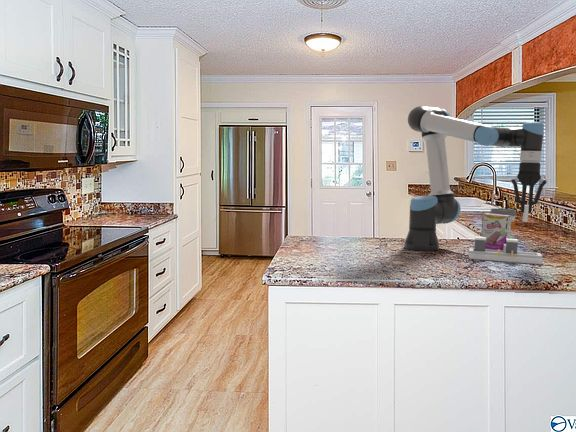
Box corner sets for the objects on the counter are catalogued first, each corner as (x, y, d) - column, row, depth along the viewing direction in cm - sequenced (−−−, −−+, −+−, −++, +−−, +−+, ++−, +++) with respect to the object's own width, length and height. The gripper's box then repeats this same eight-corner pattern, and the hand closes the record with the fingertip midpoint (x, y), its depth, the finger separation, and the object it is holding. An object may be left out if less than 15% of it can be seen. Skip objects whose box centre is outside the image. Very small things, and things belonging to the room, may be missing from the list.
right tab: (505, 254, 203) (506, 239, 202) (505, 253, 206) (506, 238, 206) (517, 255, 201) (518, 240, 201) (515, 253, 205) (517, 239, 204)
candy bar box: (479, 250, 226) (482, 213, 224) (484, 248, 229) (486, 213, 227) (505, 253, 218) (507, 216, 216) (509, 252, 222) (512, 215, 220)
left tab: (474, 252, 206) (475, 237, 206) (474, 250, 210) (474, 236, 210) (485, 253, 205) (485, 238, 204) (484, 251, 209) (485, 237, 208)
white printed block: (491, 239, 258) (493, 210, 257) (486, 235, 271) (488, 208, 269) (517, 240, 256) (519, 211, 255) (510, 236, 269) (512, 208, 267)
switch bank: (469, 258, 205) (469, 244, 204) (468, 254, 214) (469, 240, 213) (542, 264, 196) (543, 249, 195) (538, 259, 205) (540, 245, 205)
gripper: (513, 161, 197) (508, 221, 200) (550, 162, 193) (544, 223, 196) (511, 161, 204) (506, 219, 207) (546, 162, 200) (541, 221, 203)
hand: (525, 221), depth 201 cm, fingers closed
